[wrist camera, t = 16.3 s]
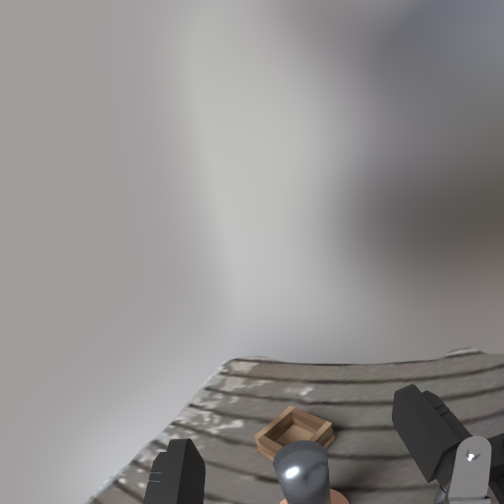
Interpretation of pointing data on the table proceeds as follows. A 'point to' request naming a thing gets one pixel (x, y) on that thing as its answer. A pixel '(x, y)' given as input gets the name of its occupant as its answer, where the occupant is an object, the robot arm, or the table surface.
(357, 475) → the table surface
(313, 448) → the rod
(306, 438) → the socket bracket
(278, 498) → the table surface
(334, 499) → the pad
